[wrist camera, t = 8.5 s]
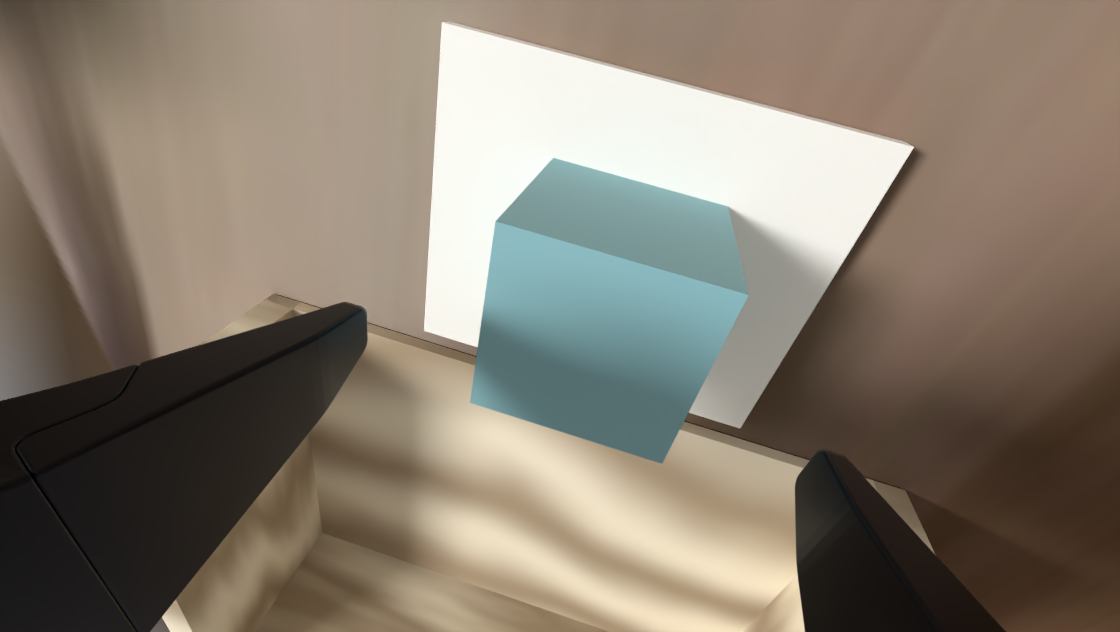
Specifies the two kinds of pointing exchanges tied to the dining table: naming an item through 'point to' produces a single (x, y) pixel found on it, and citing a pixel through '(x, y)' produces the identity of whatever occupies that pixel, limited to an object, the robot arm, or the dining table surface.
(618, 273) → the teal block
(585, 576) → the birch crate
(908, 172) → the dining table surface
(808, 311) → the off-white mat
